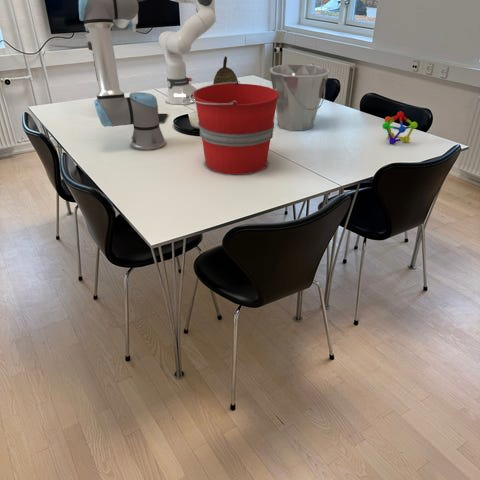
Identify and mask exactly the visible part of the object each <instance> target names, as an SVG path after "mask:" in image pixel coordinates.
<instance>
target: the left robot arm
mask: <svg viewBox="0 0 480 480" xmlns="http://www.w3.org/2000/svg"><path fill="white" fill-rule="evenodd" d="M137 13H138V14H139V2H138V1H137V0H78V14H79V15H78V16H79V17H78V18H79V21H81V22H83V26H84V29H85V35H84V36H85V37H86V41H87V48H88V50H89V51H91V52H92V57H93V66H94V70H95V76H96V81H97V84H98V92H97V93H98V94H96V99H95V100H94V101H93V103H94V105H95V111H96V113H97V116H98V119H99V122H100V124H101V126H103V127H106V128H107V127H118V126H119V127H120V126H129V125H130V126H131V125H133V132H132V135H131V142H130V143H131V147H132V148H134V149H135V150H141V151H151V150H153V151H154V150H157V149H161V148H163V147H164V146H165V144H166V140H165V137H164V135H163V132H162V130H161V127H160V123H159V117H158V114H159V105H158V100H157V99H158V98H157V96H155V95H154V94H153V93H148V92H141V91H135V92H130V93H129V95H128V96H127V97H126V96H125V92H124V91H122V90H121V89H120V82H119V75H118V69H117V68H118V67H117V63H116V56H115V50H114V43H113V38H112V37H113V36H112V31H132V30H131V29H132V19H133V18H134V17H135V16H136V15H137Z"/></svg>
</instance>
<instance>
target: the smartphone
mask: <svg viewBox="0 0 480 480" xmlns="http://www.w3.org/2000/svg"><path fill="white" fill-rule="evenodd" d="M168 116H169V114H168V113H158V117H159V124H164V123H165V121H166V120H167V117H168Z"/></svg>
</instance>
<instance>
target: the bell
mask: <svg viewBox="0 0 480 480" xmlns="http://www.w3.org/2000/svg"><path fill="white" fill-rule="evenodd" d="M227 63H228V57H227V56H224V58H223V63H222V67H221V68H219V69H218V70H217V71H216V73H215V75H214V78H213V81H212V83H213V84H219V83H225V82H236V81H237V84H239V80H238V79H239V78H238V77H237V75H236V73H235V72H234V70H232V69H231V68H230V67H227ZM213 84H212V85H213ZM227 84H234V83H227Z"/></svg>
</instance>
